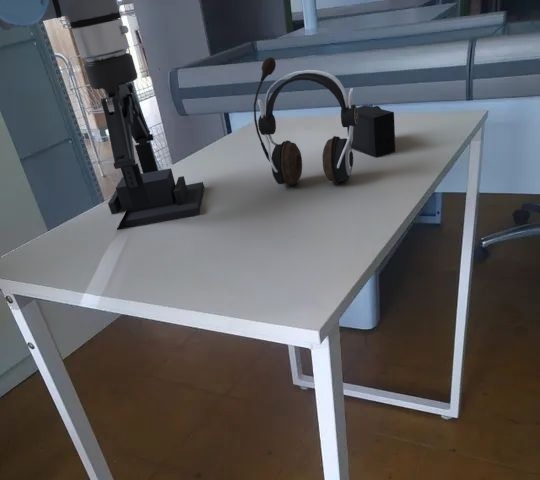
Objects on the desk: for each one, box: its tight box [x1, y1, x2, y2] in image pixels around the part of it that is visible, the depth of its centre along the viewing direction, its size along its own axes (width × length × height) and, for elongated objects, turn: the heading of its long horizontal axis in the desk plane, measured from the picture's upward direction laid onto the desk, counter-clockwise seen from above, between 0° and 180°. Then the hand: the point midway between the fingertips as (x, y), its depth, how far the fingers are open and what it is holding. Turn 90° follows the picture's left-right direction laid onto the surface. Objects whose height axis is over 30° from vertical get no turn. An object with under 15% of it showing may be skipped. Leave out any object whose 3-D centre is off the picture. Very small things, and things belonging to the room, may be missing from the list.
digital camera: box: [346, 104, 396, 158], centre depth 103 cm, size 10×5×7 cm, turn 22°
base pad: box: [107, 175, 205, 230], centre depth 96 cm, size 18×14×4 cm
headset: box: [253, 56, 358, 188], centre depth 88 cm, size 17×8×20 cm, turn 71°
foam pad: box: [115, 168, 176, 214], centre depth 96 cm, size 9×6×4 cm, turn 92°
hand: (147, 192), depth 96 cm, fingers open, 13 cm apart
